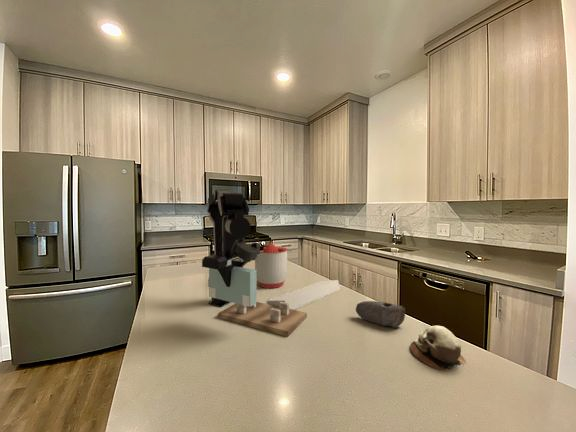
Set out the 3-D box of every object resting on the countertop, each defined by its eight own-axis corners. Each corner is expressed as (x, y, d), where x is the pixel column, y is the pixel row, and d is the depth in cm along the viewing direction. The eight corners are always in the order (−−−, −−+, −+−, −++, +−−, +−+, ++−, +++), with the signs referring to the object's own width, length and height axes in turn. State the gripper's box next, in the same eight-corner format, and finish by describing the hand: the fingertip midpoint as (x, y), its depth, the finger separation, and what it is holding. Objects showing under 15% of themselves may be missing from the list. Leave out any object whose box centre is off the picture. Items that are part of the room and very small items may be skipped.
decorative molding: (268, 313, 91) (287, 314, 84) (266, 300, 92) (284, 300, 85) (322, 291, 116) (340, 290, 109) (320, 281, 117) (338, 280, 110)
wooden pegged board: (218, 317, 81) (218, 302, 81) (243, 302, 94) (243, 290, 94) (288, 336, 70) (288, 319, 69) (306, 317, 82) (307, 302, 82)
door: (209, 296, 77) (208, 265, 77) (216, 293, 80) (216, 263, 80) (250, 306, 70) (250, 272, 69) (256, 303, 73) (256, 269, 72)
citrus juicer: (266, 277, 128) (266, 239, 127) (293, 283, 118) (294, 242, 117) (244, 285, 115) (244, 242, 115) (273, 292, 105) (273, 246, 104)
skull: (396, 343, 65) (416, 311, 67) (418, 364, 67) (437, 332, 70) (437, 370, 53) (460, 331, 56) (462, 394, 56) (483, 355, 58)
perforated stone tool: (352, 319, 81) (353, 298, 80) (358, 314, 85) (358, 294, 85) (402, 333, 72) (402, 310, 72) (405, 326, 76) (406, 304, 76)
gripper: (231, 239, 62) (231, 300, 63) (271, 233, 79) (270, 281, 79) (200, 236, 67) (200, 292, 68) (243, 231, 84) (243, 276, 84)
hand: (231, 285), depth 75 cm, fingers closed on door, 3 cm apart
